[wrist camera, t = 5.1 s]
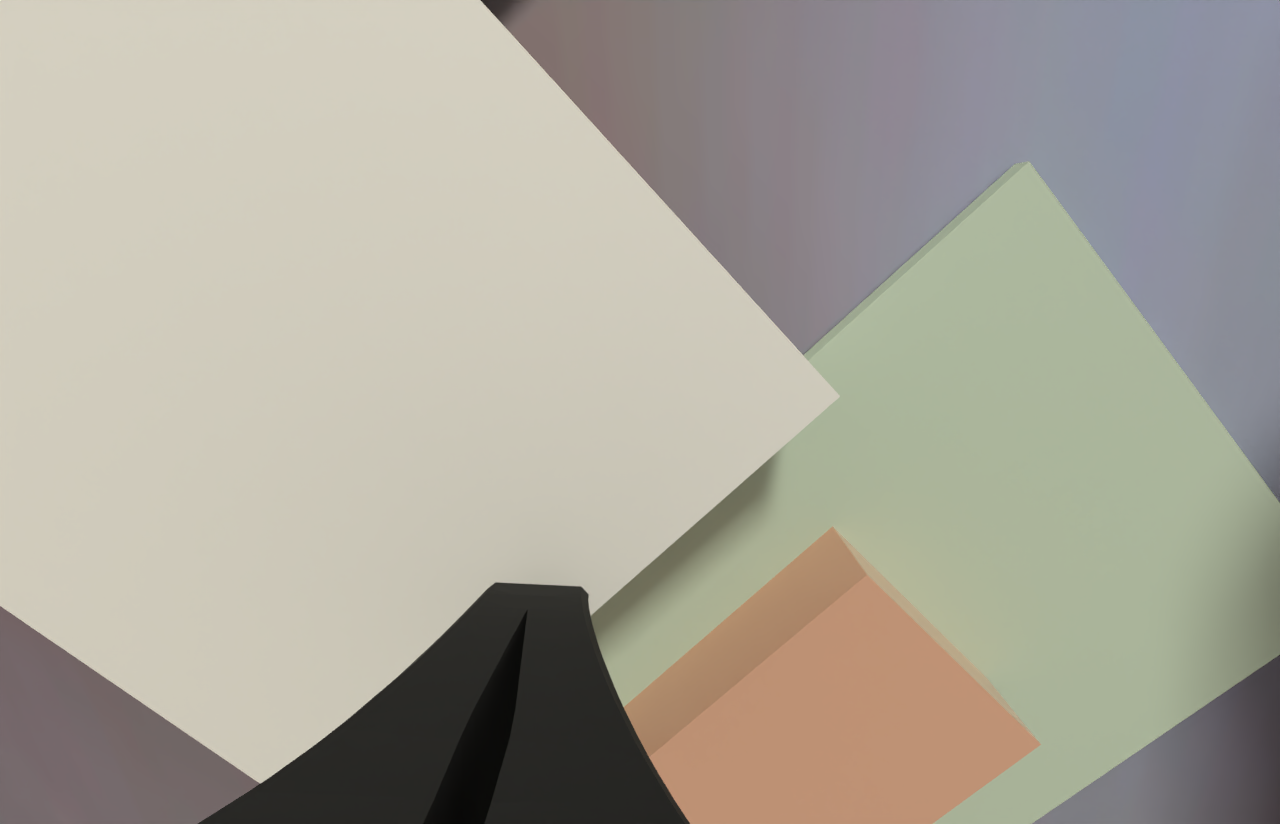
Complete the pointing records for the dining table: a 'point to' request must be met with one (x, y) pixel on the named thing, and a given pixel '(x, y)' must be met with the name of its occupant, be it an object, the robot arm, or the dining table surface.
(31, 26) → the platform
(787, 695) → the terracotta tile
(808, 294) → the dining table surface
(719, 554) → the sage mat
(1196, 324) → the dining table surface
